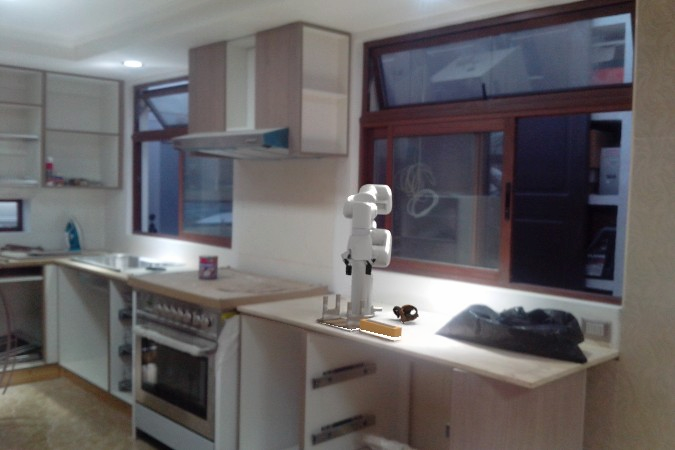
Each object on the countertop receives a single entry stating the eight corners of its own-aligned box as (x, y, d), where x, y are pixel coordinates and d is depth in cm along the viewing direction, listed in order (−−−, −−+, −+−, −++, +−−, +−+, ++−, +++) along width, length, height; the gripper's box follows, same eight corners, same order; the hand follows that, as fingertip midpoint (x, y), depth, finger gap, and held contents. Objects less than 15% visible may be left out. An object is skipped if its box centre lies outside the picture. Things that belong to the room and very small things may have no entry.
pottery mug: (419, 321, 281) (422, 307, 276) (411, 334, 274) (414, 320, 269) (395, 311, 285) (397, 297, 280) (386, 323, 278) (388, 309, 273)
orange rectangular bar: (359, 332, 255) (360, 319, 255) (366, 330, 258) (366, 318, 257) (394, 342, 242) (395, 328, 242) (400, 340, 245) (401, 327, 245)
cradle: (316, 321, 268) (317, 295, 267) (334, 318, 275) (336, 292, 274) (350, 331, 253) (352, 304, 253) (369, 328, 261) (370, 301, 260)
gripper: (372, 232, 265) (370, 273, 266) (337, 231, 256) (335, 274, 256) (383, 233, 259) (381, 275, 260) (348, 232, 249) (346, 276, 250)
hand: (358, 274), depth 258 cm, fingers open, 9 cm apart
